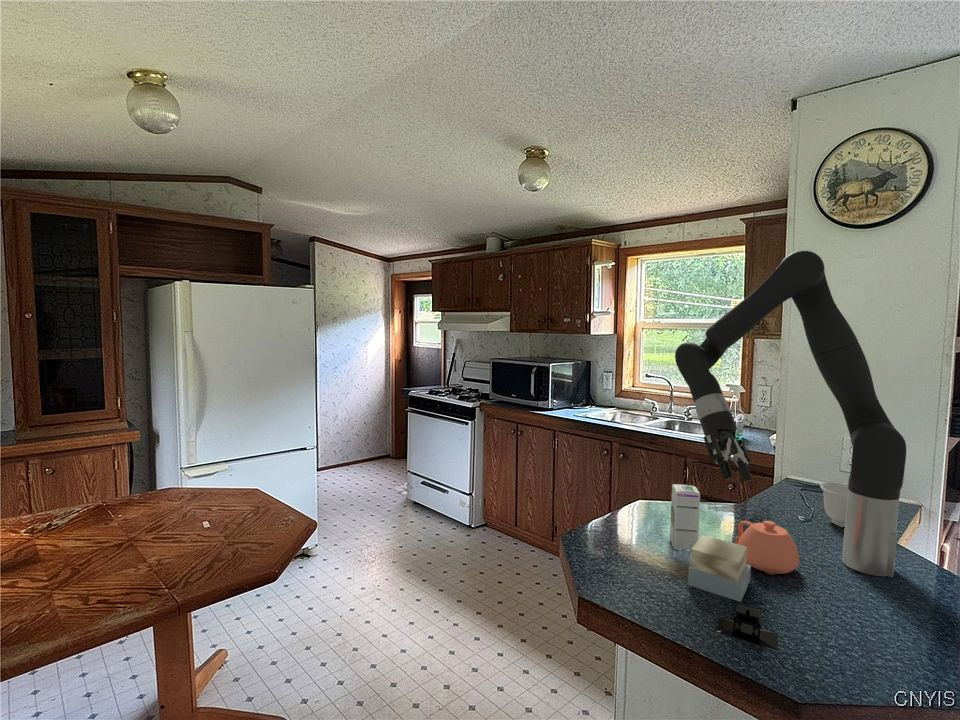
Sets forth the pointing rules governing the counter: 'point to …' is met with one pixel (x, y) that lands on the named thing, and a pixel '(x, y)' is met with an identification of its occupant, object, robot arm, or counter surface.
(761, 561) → the salmon teapot
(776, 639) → the black slotted chunky part
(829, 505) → the teacup
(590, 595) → the counter surface
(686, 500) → the syrup box
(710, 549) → the tower top
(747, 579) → the tower base
